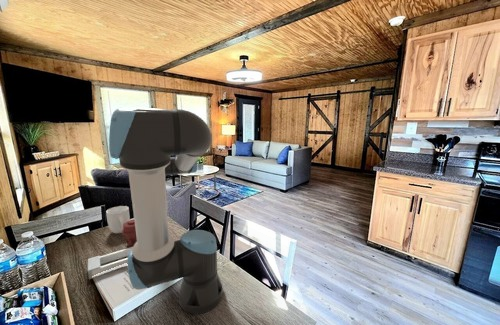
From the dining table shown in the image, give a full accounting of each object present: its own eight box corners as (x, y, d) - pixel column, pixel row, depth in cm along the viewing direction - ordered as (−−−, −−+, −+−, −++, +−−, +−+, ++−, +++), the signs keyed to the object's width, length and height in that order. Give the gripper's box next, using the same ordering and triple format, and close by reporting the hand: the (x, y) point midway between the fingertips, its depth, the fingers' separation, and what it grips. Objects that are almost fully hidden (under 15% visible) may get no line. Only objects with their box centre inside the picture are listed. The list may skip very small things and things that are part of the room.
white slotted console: (147, 259, 94) (146, 251, 94) (89, 279, 82) (87, 270, 81) (142, 249, 102) (142, 242, 101) (89, 266, 89) (87, 258, 89)
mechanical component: (131, 238, 113) (149, 239, 112) (118, 248, 103) (137, 249, 102) (129, 216, 111) (147, 217, 110) (115, 225, 101) (135, 226, 100)
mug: (135, 233, 118) (133, 211, 116) (112, 240, 110) (109, 217, 108) (127, 224, 128) (125, 204, 126) (106, 230, 121) (104, 209, 119)
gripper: (169, 189, 89) (172, 235, 92) (154, 177, 108) (157, 215, 112) (150, 192, 84) (154, 240, 88) (138, 179, 104) (142, 219, 107)
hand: (156, 226), depth 100 cm, fingers open, 13 cm apart
